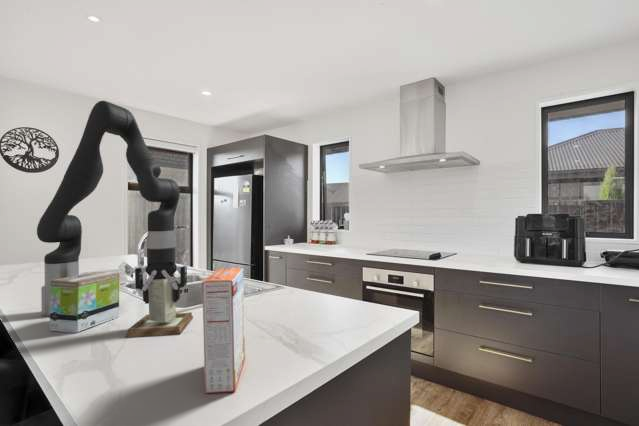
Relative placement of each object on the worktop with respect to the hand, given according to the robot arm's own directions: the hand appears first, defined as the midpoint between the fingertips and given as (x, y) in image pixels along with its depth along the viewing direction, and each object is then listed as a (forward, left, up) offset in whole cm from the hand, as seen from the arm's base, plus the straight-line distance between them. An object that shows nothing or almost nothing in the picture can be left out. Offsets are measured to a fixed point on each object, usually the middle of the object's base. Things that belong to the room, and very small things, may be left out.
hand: (161, 302), depth 97 cm
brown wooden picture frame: (0, 0, -7) cm, 7 cm away
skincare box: (0, 0, -5) cm, 5 cm away
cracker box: (+23, -33, -7) cm, 41 cm away
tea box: (-24, +7, -7) cm, 26 cm away
